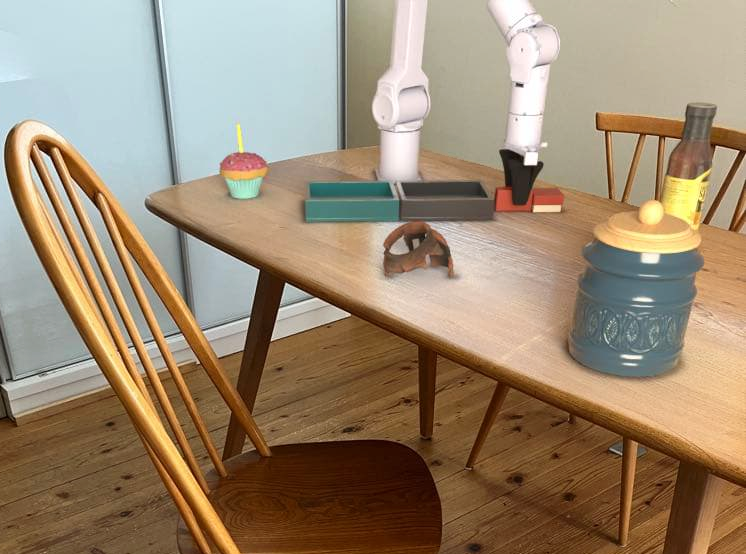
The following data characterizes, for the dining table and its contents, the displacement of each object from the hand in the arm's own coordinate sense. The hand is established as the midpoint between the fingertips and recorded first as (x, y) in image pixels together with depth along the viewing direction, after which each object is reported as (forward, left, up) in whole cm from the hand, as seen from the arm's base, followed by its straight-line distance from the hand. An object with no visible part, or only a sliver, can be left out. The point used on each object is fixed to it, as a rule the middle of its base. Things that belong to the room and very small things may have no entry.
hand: (515, 199), depth 152 cm
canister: (+59, +1, -2) cm, 59 cm away
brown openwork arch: (+31, -20, -2) cm, 37 cm away
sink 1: (+1, -28, -2) cm, 28 cm away
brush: (0, +2, -2) cm, 2 cm away
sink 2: (+1, -12, -2) cm, 13 cm away
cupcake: (-9, -46, -2) cm, 47 cm away
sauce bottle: (+21, +20, -2) cm, 29 cm away
